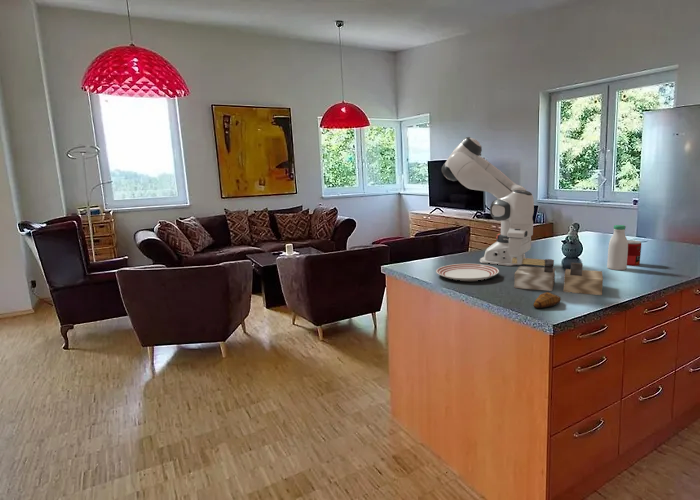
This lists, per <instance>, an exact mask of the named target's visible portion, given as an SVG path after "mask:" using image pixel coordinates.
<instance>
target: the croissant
mask: <svg viewBox="0 0 700 500" xmlns="http://www.w3.org/2000/svg"><path fill="white" fill-rule="evenodd" d="M561 300H562V299H561V297H560V296H558V295H556V294H553V293H551V292H548V291H547V292H543V293H540V294H539V295H538V297H537V298H536V299H535V301H534V302H533V305H532V307H533V308H534V309H545V308H550V307H554V306H557V305H558V304H560V302H561Z"/></svg>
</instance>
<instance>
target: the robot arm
mask: <svg viewBox="0 0 700 500" xmlns="http://www.w3.org/2000/svg"><path fill="white" fill-rule="evenodd" d="M482 147H483V146H482V145H481V144H480V142H479V141H478V140H477V139H476V138H473V137H470V136H467V137H466V136H465V138H463V139H462V140H461V141H460V143H459V144H457V146H456V147H455V148H454V149H453V151H452V152H451V153H450V155H449V156H448V158H447V159H446V161H445V162H444V163H443V165H442V166H441V173H442V175H443V176H444V177H445V178H446V179H447V180H449V181H452V182H457V181H458V182H459V183H460V184H461V185H462V186H464V187H465V188H466V189H469V190H474V191H480V192H485V193H486V192H487V193H489V194H491V195H493V197H495V198H496V199H494V200H492V201H491V204H490V205H489V206H490V207H489V213H490V214H489V215H490V216H491V218H492V219H493V220H495V221H499V222H500V233H498V234H497V235H496V238H495V239H496V241H495V242H494V243H492V244H491V245H489V246H488V247H487V248H486V249H485V252H484V256H482V257H480V258H479V262H480V264H481V263H482V264H488V263H490V264H491V265H497V264H498V265H499V266H508V267H509V266H510V267H512V266H516V265H517V266H522V265H524V264H523V258H526V254H525V253H527V252H528V251H530V250H531V248H532V236H533V235H534V220H533V216H534V213H535V212H534V211H535V208H534V207H535V200H534V195H533V193H532V192H530V191H528V190H527V188H525V187H524V186H522V185H519V184H517V183H516V182H514V181H513V180H511V179H510V178H509V177H508V176H507V175H506V174H504V172H502V171H501V170H500V169H499V168H497V167H496V166H495V165H493V164H492V163H491V162H489V161H488V160H487V159H485V158H484V157H482V152H483V149H482ZM513 257H516V258H517V263H512V258H513ZM490 264H489V265H490Z"/></svg>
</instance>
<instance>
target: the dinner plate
mask: <svg viewBox="0 0 700 500" xmlns="http://www.w3.org/2000/svg"><path fill="white" fill-rule="evenodd" d="M435 272H436V274H438V275H439V276H441V277H444V278H446V279H449V280H452V279H453V280H452V281H457V280H460V281H459V282H479V281H478V280H481V281H484V279H485V280H487V279H490V278H493V277H495V276H497V275H498V274H499V273H500V270H499V269H498V267H496V266H492V265H490V264H483V263H482V264H481V263H453V264H448V265H442V266H440V267H438V268H437V269H436V270H435Z"/></svg>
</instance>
